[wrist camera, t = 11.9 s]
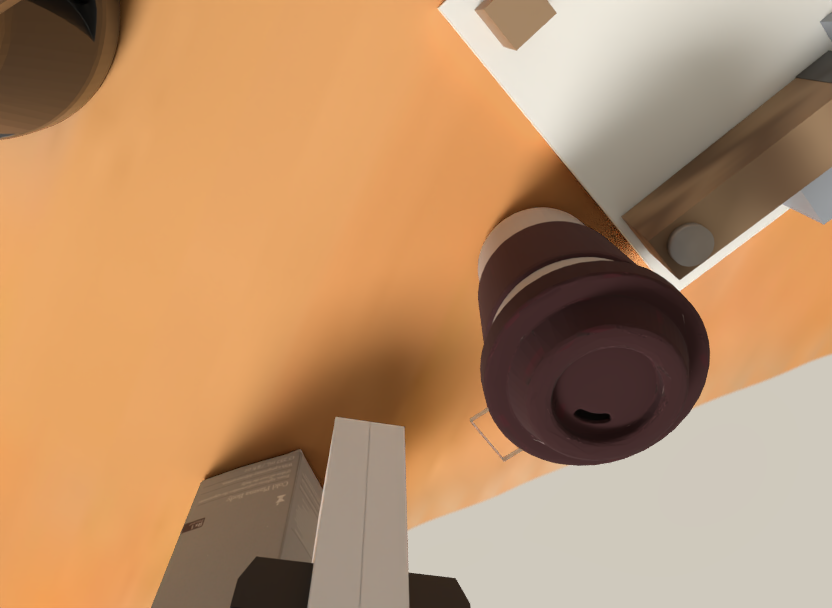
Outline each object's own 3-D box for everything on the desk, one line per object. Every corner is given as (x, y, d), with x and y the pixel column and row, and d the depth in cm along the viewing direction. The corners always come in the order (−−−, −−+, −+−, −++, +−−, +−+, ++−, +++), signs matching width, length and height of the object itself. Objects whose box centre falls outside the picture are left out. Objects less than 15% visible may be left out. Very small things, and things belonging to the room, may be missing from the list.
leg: (649, 252, 39) (684, 285, 34) (620, 215, 38) (651, 244, 34) (855, 95, 36) (924, 107, 31) (828, 50, 35) (896, 55, 30)
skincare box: (302, 444, 46) (260, 643, 31) (341, 518, 49) (319, 733, 34) (193, 479, 47) (102, 688, 32) (237, 550, 49) (172, 772, 35)
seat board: (437, 8, 35) (443, 7, 30) (692, -245, 31) (746, -292, 26) (666, 288, 42) (700, 323, 37) (898, 112, 38) (971, 127, 33)
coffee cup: (547, 147, 37) (637, 238, 24) (646, 261, 41) (773, 397, 27) (422, 260, 40) (439, 399, 27) (524, 358, 44) (585, 525, 30)
